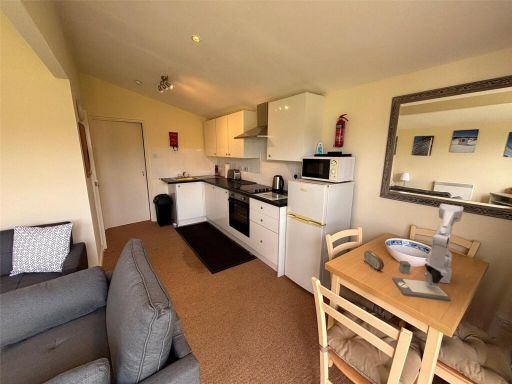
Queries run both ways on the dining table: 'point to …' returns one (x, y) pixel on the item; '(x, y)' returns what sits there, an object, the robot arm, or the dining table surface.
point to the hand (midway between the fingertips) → (432, 280)
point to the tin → (374, 260)
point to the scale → (420, 289)
